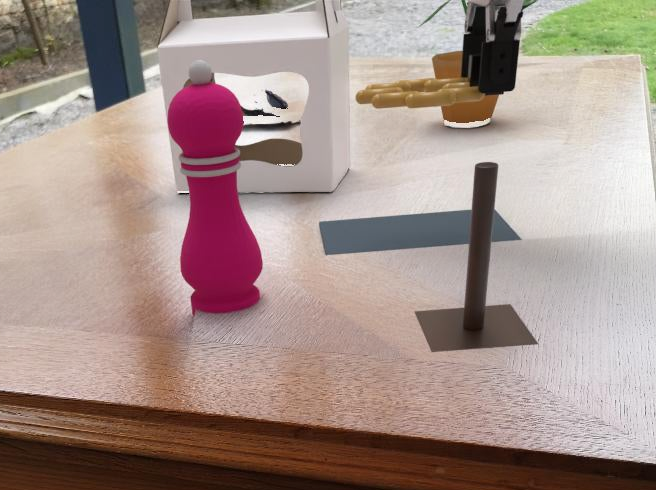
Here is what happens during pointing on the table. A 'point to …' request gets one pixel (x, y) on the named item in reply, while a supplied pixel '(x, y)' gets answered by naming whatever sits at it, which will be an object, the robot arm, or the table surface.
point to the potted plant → (451, 68)
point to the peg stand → (477, 287)
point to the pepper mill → (213, 197)
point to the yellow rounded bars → (436, 91)
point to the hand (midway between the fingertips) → (486, 83)
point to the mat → (406, 232)
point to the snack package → (272, 100)
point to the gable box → (262, 59)
